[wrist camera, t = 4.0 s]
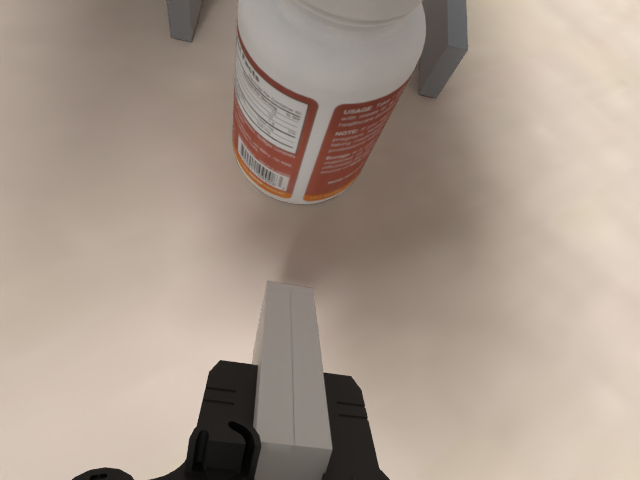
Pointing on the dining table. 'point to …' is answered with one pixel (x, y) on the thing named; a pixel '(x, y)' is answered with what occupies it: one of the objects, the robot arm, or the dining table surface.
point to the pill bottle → (318, 89)
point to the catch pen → (437, 55)
